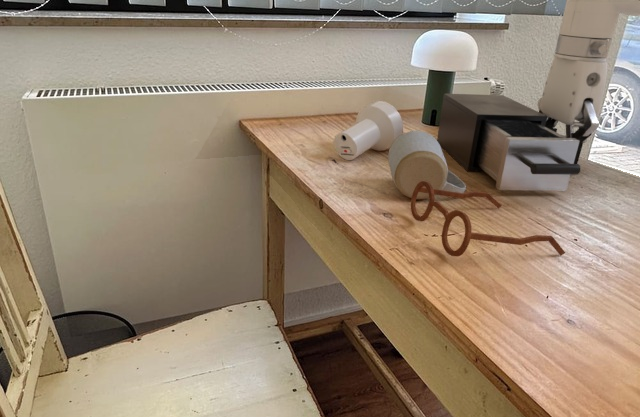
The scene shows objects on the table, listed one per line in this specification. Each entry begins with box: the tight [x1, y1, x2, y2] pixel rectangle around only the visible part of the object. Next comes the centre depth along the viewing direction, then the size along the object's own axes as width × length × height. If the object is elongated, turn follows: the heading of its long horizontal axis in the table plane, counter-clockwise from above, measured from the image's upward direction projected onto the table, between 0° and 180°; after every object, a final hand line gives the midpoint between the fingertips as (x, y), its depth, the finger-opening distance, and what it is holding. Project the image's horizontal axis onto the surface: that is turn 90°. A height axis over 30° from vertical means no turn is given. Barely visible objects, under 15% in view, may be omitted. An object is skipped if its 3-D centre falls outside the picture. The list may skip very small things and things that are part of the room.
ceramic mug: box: [387, 130, 467, 200], centre depth 67 cm, size 11×8×8 cm
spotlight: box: [333, 100, 404, 161], centre depth 82 cm, size 8×11×8 cm
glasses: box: [410, 181, 566, 258], centre depth 56 cm, size 13×13×5 cm
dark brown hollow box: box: [436, 93, 547, 173], centre depth 83 cm, size 16×11×9 cm
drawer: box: [474, 120, 581, 192], centre depth 71 cm, size 19×10×7 cm, turn 5°
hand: (554, 156), depth 84 cm, fingers open, 7 cm apart
